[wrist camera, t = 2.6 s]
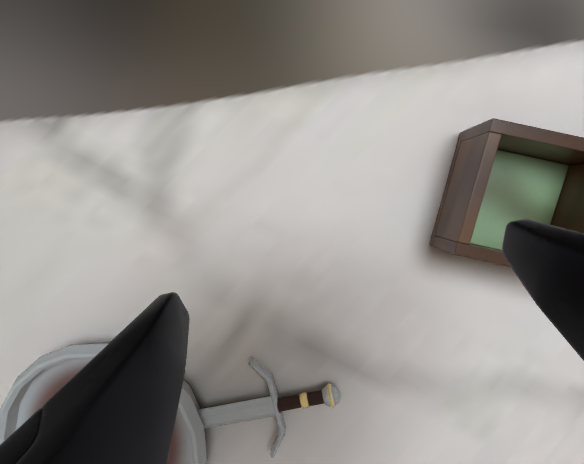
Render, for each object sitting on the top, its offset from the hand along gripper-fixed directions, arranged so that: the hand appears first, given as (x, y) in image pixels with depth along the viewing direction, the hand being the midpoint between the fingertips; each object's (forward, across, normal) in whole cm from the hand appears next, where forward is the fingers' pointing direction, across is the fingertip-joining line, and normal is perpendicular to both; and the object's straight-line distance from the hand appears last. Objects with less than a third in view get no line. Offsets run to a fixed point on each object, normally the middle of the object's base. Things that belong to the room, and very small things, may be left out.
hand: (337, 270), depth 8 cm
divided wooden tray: (+13, -17, +10) cm, 23 cm away
